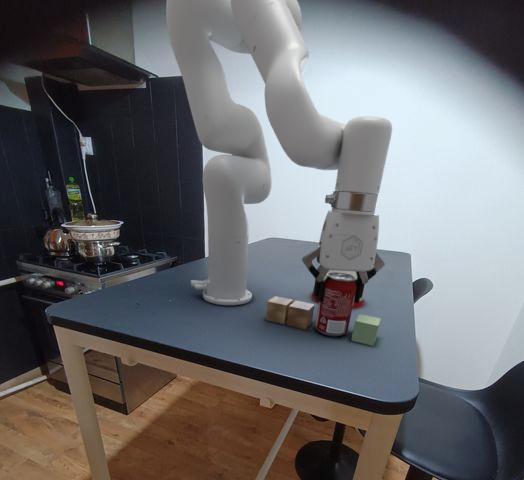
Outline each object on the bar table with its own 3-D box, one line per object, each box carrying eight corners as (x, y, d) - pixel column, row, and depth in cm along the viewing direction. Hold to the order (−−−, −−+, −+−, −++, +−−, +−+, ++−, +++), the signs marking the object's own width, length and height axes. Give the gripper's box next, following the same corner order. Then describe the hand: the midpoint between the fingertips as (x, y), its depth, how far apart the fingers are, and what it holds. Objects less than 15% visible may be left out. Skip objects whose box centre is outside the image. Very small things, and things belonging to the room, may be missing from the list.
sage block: (350, 340, 64) (355, 320, 62) (355, 333, 68) (359, 313, 65) (373, 346, 62) (378, 325, 60) (376, 338, 66) (381, 318, 64)
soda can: (347, 340, 64) (359, 282, 58) (313, 335, 65) (323, 278, 59) (346, 327, 70) (357, 273, 64) (315, 323, 71) (324, 269, 65)
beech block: (286, 325, 69) (288, 305, 67) (293, 318, 72) (295, 300, 70) (305, 329, 67) (308, 310, 65) (312, 322, 71) (314, 304, 69)
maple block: (265, 319, 71) (267, 301, 69) (273, 313, 74) (275, 295, 72) (284, 324, 69) (286, 305, 67) (291, 318, 73) (293, 299, 71)
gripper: (310, 202, 52) (297, 305, 60) (411, 209, 53) (385, 308, 62) (301, 199, 58) (291, 292, 67) (391, 205, 60) (370, 296, 68)
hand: (336, 299), depth 64 cm, fingers closed on soda can, 6 cm apart
